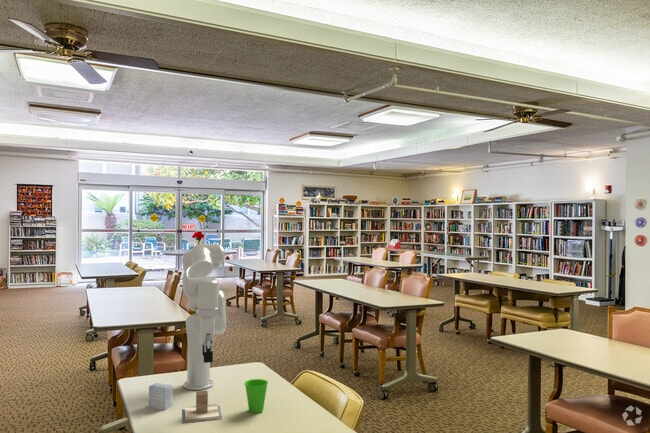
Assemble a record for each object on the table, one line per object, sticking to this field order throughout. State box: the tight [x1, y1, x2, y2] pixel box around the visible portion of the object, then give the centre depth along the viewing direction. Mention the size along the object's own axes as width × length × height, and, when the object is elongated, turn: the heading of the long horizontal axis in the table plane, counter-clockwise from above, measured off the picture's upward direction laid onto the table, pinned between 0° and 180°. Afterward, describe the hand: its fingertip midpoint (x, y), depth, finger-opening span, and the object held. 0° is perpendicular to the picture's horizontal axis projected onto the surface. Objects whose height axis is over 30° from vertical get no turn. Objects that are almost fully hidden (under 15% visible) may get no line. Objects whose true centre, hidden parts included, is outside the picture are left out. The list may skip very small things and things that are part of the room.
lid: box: [184, 389, 219, 422], centre depth 179 cm, size 12×12×8 cm
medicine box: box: [148, 382, 173, 411], centre depth 187 cm, size 8×4×9 cm, turn 71°
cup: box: [243, 378, 269, 414], centre depth 183 cm, size 9×9×11 cm
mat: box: [181, 405, 223, 425], centre depth 179 cm, size 14×14×1 cm
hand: (207, 358), depth 180 cm, fingers open, 9 cm apart
